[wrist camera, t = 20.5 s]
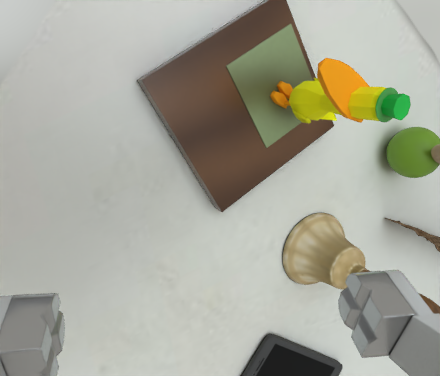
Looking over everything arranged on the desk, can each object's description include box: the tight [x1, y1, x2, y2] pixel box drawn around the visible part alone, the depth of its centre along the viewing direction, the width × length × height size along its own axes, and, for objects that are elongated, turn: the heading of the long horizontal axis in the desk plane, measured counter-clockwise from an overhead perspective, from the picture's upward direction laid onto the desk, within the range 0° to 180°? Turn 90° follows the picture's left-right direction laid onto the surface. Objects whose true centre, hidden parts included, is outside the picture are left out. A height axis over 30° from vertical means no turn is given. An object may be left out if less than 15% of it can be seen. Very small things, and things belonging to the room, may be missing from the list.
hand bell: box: [283, 213, 440, 314], centre depth 34 cm, size 8×8×16 cm
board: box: [137, 0, 334, 212], centre depth 32 cm, size 13×14×2 cm
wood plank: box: [385, 218, 440, 252], centre depth 46 cm, size 15×2×5 cm, turn 65°
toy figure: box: [270, 58, 410, 123], centre depth 27 cm, size 7×4×12 cm, turn 52°
